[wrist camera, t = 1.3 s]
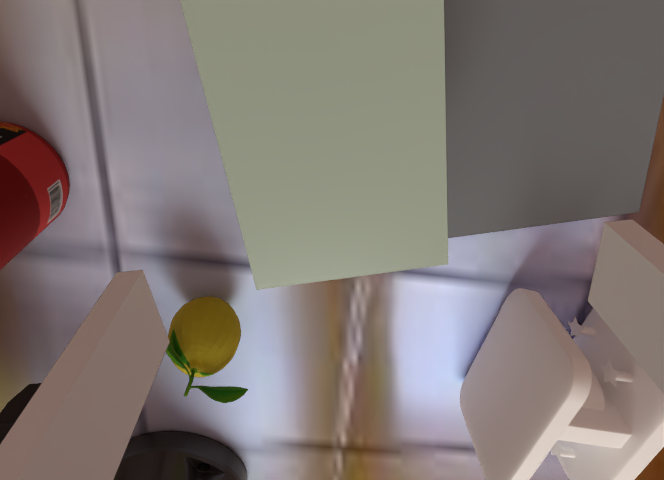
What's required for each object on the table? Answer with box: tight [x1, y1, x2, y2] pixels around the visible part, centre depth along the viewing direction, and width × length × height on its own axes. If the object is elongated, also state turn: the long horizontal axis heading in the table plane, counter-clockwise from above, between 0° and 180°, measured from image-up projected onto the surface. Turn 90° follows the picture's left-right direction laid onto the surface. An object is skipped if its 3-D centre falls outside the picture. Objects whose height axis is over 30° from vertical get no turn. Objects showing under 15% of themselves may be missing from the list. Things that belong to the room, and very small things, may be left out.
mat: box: [444, 0, 664, 238], centre depth 32 cm, size 15×20×1 cm
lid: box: [180, 0, 448, 290], centre depth 25 cm, size 11×16×4 cm
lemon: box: [166, 296, 248, 403], centre depth 36 cm, size 7×6×10 cm
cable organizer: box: [460, 288, 664, 480], centre depth 38 cm, size 15×11×12 cm
